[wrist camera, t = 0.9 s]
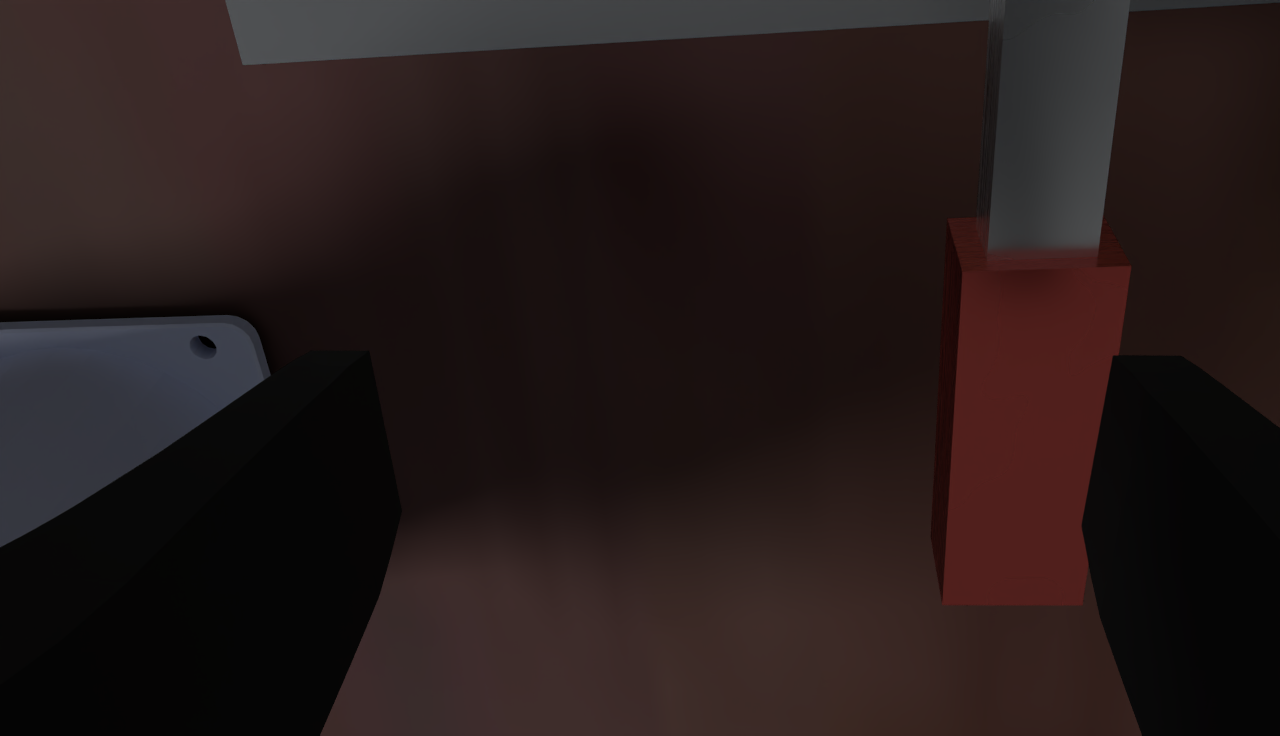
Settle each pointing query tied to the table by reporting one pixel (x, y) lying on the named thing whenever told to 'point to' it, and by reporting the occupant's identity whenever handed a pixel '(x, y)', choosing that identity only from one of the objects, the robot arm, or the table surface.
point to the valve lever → (1030, 311)
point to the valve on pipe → (565, 22)
